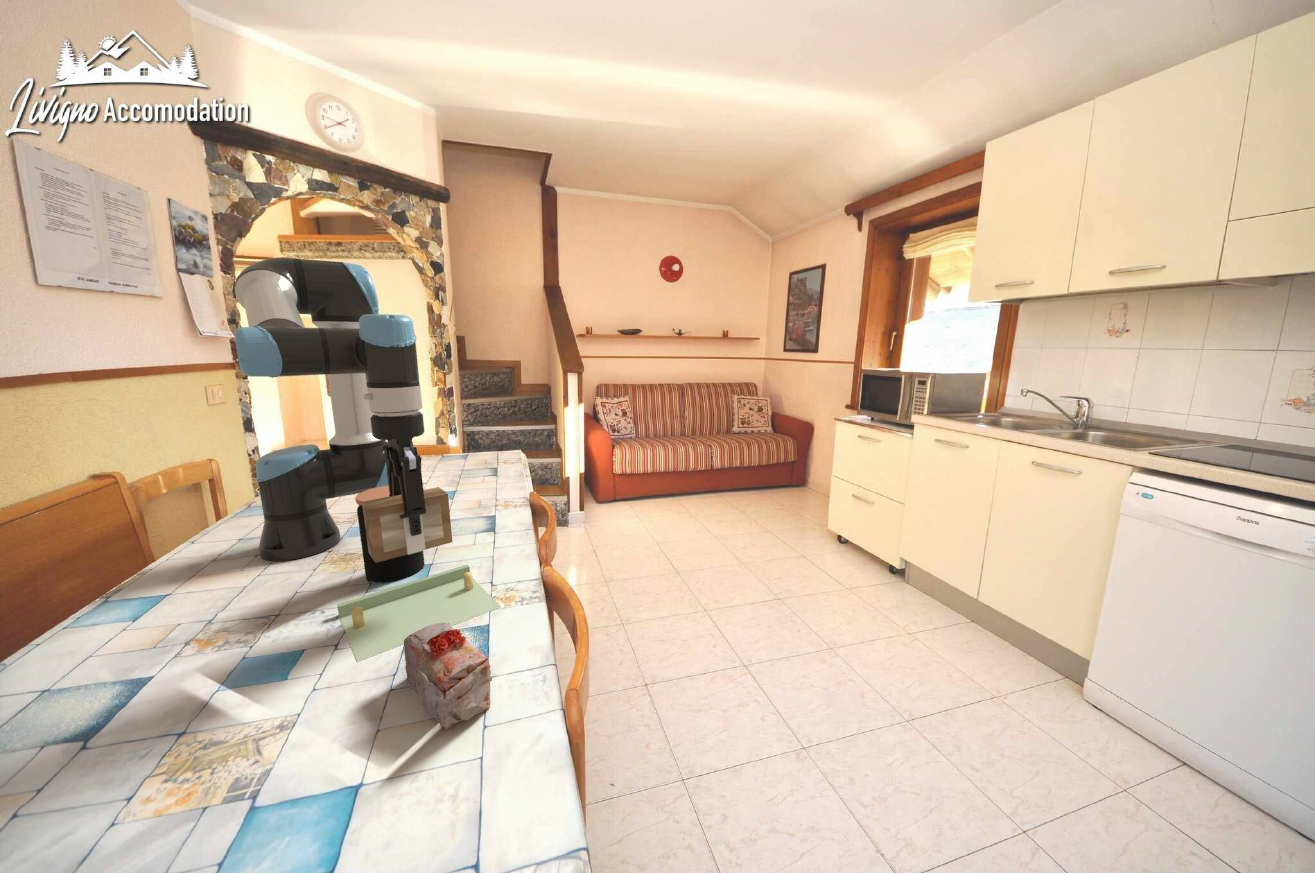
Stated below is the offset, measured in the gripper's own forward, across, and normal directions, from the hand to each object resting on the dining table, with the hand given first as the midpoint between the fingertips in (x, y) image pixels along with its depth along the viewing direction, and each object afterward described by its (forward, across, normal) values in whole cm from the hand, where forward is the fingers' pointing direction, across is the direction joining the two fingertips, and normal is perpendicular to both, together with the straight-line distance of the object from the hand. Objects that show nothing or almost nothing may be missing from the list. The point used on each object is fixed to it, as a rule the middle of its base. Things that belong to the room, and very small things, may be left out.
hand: (411, 545), depth 81 cm
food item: (+13, +24, -3) cm, 28 cm away
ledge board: (+13, +2, 0) cm, 13 cm away
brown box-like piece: (0, 0, 0) cm, 0 cm away
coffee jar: (+13, -18, 0) cm, 22 cm away
